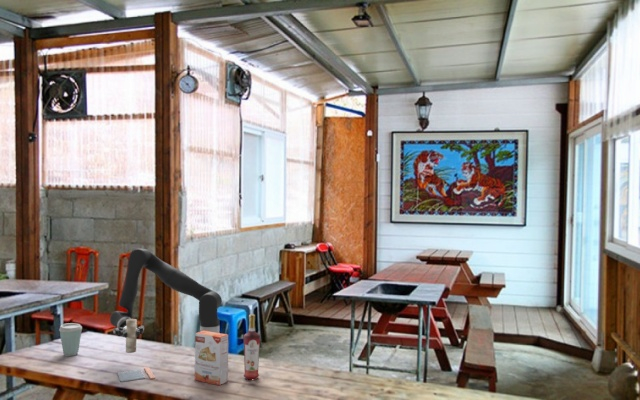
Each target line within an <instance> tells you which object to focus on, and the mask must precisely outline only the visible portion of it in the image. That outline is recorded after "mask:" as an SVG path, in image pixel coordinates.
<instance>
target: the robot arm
mask: <svg viewBox="0 0 640 400" xmlns="http://www.w3.org/2000/svg"><path fill="white" fill-rule="evenodd" d="M143 268H144V269H146V270H149V271H150V272H152V273H153V274H154V275H156V277H158V278H159V280H160V281H161V282H162V283H164V285H166V286H167V287H169V288H170V289H172V290H174V291H176V292H178V293H181V294H184V295H187V296H190V297H192V298H195V299H196V300H197V301H198V319H199V323H200V326H199V327H200V328H199V329H200V331H199V332H201V331H210V332H216V333H220V318H219V316H218V309H219V308H220V307H221V305H222V303H223V300H222V297H221V295H220V293H218V292H217V291H215V290H212V289H210V288H209V287H206V286H204V285H202V284H201V283H199V282H197V280H195V279H194V278H192V277H191V276H188V275H187V274H185V273H184V272H183V271H181V270H180V269H178V268H176V267H175V266H173V265H170V264H169V263H167V262H165V261H163V260H162V259H160V258H159V257H157V256H156V255H155V254H154V253H153V252H151V250H149V249H146V248H135V249H132V251H131V252H130V253H129V256H128V263H127V270H126V275H125V280H124V285H123V287H122V291H121V296H120V298H119V302H118V306H119V307H121V308H123V309H125V310H126V311H127V312H126V311H120V310H116V311H113V312H112V313H111V314H110V317H109V321H110V325H112V326H113V327H114V328H113V330H112V331H113V334H112V335H115V336H117V337H124V338H125V339H126V337H127V332H126V320H128V319H134V316H133V315H134V314H133V311H134V306H135V305H134V304H135V301H136V299H137V294H138V290H139V287H138V286H139V285H138V283H139V277H140V273H141V271H142V269H143ZM144 332H145V325H141V326H138V325H137V332H136V337H140V336H141V335H143V333H144Z"/></svg>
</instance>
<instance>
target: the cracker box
mask: <svg viewBox="0 0 640 400" xmlns="http://www.w3.org/2000/svg"><path fill="white" fill-rule="evenodd" d="M194 336H195V340H194V342H195V347H194V381H199V382H202V383H203V382H204V383H207V384H212V385H215V384H216V385H215V386H221V384H222V385H224V384H226V383H228V381H229V334H227V333H220V332H219V333H216V332H210V331H201V332H200V331H198V332H195V334H194Z"/></svg>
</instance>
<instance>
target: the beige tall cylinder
mask: <svg viewBox="0 0 640 400" xmlns="http://www.w3.org/2000/svg"><path fill="white" fill-rule="evenodd" d="M137 320H138V319H136V318H133V319H128V320H126V332H127V337H126V338H125V353H128V354H132V353H136V352H137V336H136V332H137V326H138V324H137V322H138V321H137Z"/></svg>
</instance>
